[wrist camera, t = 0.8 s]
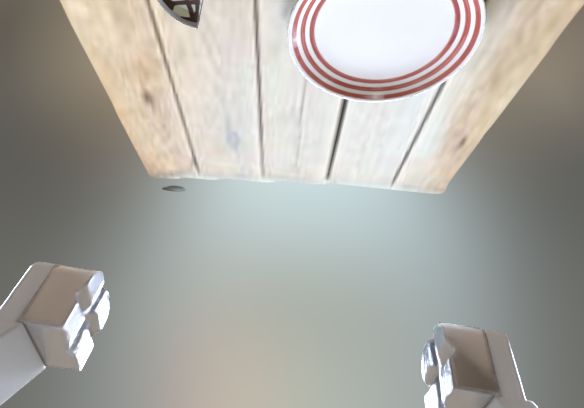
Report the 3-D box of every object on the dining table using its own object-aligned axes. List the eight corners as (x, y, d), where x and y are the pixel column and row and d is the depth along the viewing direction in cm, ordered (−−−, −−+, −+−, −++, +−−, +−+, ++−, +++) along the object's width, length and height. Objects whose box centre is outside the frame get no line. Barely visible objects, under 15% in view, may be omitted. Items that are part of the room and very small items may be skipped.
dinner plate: (317, -92, 51) (316, -72, 50) (529, -34, 56) (533, -15, 55) (273, 69, 76) (271, 84, 74) (423, 99, 81) (424, 115, 79)
